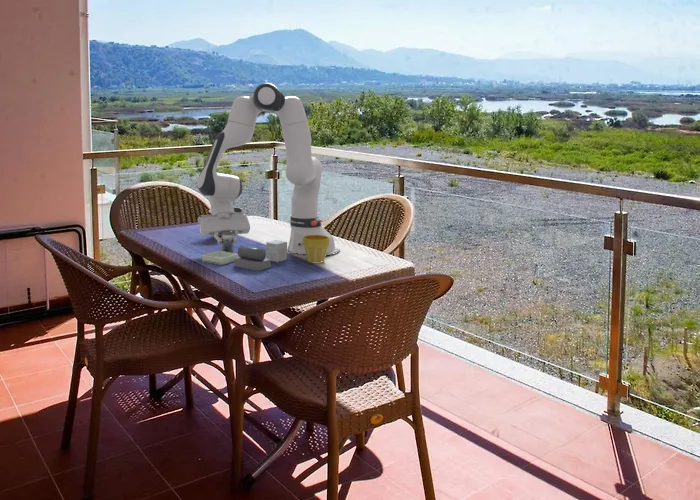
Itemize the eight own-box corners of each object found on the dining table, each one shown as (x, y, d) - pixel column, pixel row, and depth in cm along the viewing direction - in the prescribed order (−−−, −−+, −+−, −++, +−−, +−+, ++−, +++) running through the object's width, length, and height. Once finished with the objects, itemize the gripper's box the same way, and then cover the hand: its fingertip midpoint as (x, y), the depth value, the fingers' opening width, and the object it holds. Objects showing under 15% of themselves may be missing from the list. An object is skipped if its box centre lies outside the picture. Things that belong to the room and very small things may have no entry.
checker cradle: (270, 266, 256) (270, 248, 255) (259, 270, 250) (259, 251, 249) (246, 262, 262) (245, 244, 261) (234, 266, 256) (233, 247, 255)
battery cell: (235, 254, 275) (235, 228, 272) (228, 256, 271) (227, 230, 268) (227, 253, 277) (226, 227, 274) (219, 255, 273) (219, 229, 271)
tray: (238, 259, 266) (238, 253, 265) (221, 265, 258) (221, 258, 257) (219, 256, 271) (219, 250, 270) (201, 261, 262) (201, 255, 262)
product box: (265, 260, 267) (265, 242, 265) (275, 257, 272) (275, 239, 270) (277, 262, 264) (277, 244, 262) (287, 259, 268) (287, 241, 267)
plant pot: (328, 258, 272) (329, 234, 270) (328, 264, 262) (329, 239, 260) (303, 257, 272) (303, 234, 269) (302, 264, 261) (302, 239, 259)
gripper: (197, 211, 272) (202, 239, 266) (247, 208, 280) (253, 236, 273) (196, 220, 277) (200, 248, 271) (245, 217, 285) (251, 244, 278)
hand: (227, 242), depth 272 cm, fingers open, 5 cm apart
